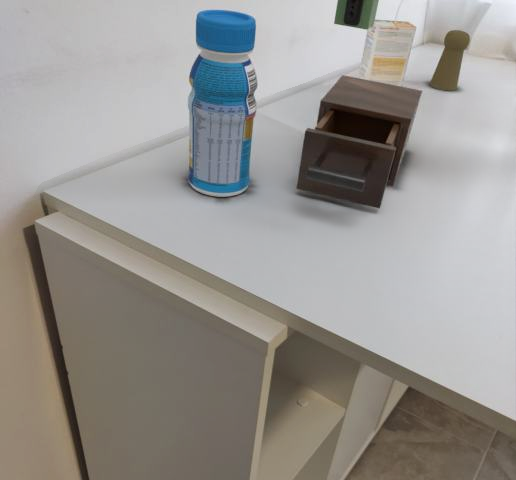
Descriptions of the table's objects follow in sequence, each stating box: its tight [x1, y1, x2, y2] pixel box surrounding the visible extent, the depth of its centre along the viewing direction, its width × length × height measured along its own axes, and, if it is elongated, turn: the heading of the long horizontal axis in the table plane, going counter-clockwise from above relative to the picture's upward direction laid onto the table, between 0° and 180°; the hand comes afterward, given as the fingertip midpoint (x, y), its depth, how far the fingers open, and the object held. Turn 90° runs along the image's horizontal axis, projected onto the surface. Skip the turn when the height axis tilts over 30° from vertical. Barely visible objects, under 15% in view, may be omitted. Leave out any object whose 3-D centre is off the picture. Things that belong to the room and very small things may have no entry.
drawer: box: [296, 108, 401, 209], centre depth 71 cm, size 19×11×8 cm, turn 161°
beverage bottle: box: [187, 9, 258, 198], centre depth 66 cm, size 8×8×20 cm
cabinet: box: [316, 74, 423, 187], centre depth 81 cm, size 15×13×10 cm
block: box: [333, 0, 380, 31], centre depth 77 cm, size 5×5×5 cm
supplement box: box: [357, 19, 417, 87], centre depth 107 cm, size 8×5×13 cm, turn 100°
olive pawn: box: [429, 29, 471, 92], centre depth 117 cm, size 6×6×11 cm
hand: (355, 20), depth 78 cm, fingers closed on block, 5 cm apart
